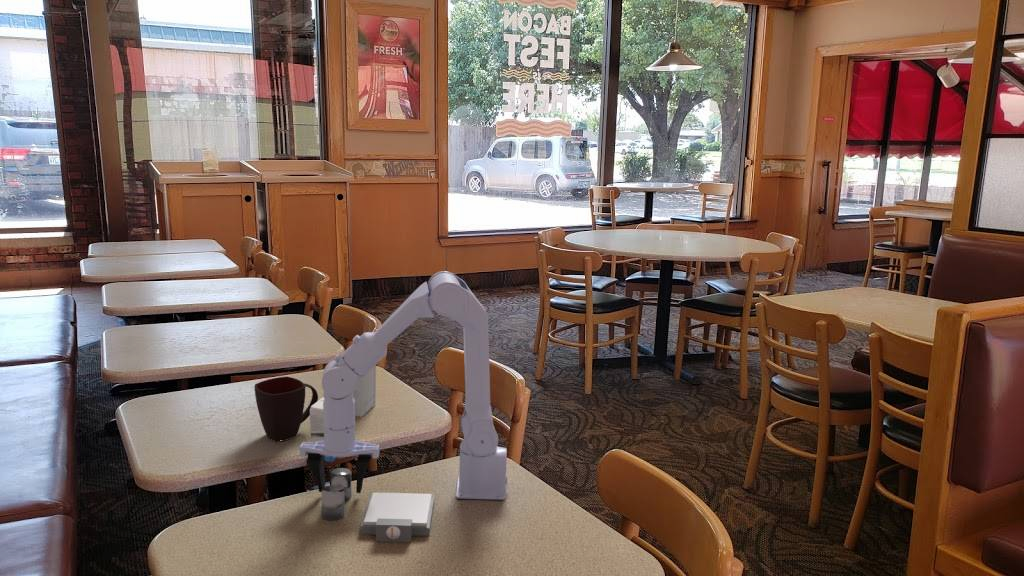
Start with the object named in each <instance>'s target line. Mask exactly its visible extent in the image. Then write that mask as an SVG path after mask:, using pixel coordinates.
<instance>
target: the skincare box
mask: <svg viewBox="0 0 1024 576" xmlns="http://www.w3.org/2000/svg"><path fill="white" fill-rule="evenodd" d="M376 367H377V364H376V365H375V366H374V367H373V368H372V369H371V370H370V371H368V372H367V373H366V374H365V375H364V376H363V377H362V378H361V379H358V380H356V381H355V388H354V391H353V398H354V400H355V417H358V416H360V417H359V418H362V417H364V416H365V414H367V413H368V412H369V411H370V410H371V409H372V408H373V407H374V406H376V391H377V389H376V388H377V387H376V384H377V383H376V381H377V380H376V379H377V376H376V375H377V374H376V373H377V372H376V371H377V370H376Z"/></svg>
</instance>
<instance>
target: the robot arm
mask: <svg viewBox="0 0 1024 576" xmlns="http://www.w3.org/2000/svg"><path fill="white" fill-rule="evenodd" d="M434 312H436V313H437V314H438V315H440V316H442V317H444V318H449V319H452V320H455V321H456V322H457V323H459V324H460V325H461V326H462V330H463V352H464V353H463V355H464V356H463V357H464V360H463V361H464V385H465V387H464V388H465V390H464V391H465V401H464V410H463V414H462V416H461V418H460V423H459V424H460V427H461V430H462V433H463V439H462V441H460V444H459V467H458V468H459V471H458V472H459V473H458V475H459V476H458V477H457V483H456V490H455V491H456V492H455V497H456V499H458V500H459V499H462V500H463V499H464V500H465V499H466V500H470V499H471V500H499V501H500V500H501V501H502V500H506V486H507V484H508V474H507V461H508V459H507V458H508V457H507V455H508V454H507V453H508V451H507V449H508V448H506V447H501V446H498V444H499V436H498V433H497V431H496V429H495V426H494V418H493V412H492V406H491V386H490V385H491V378H490V377H491V374H490V372H491V371H490V340H489V339H490V338H489V315H488V312H487V311H486V309H485V307H484V306H483V305H482V304H481V301H479V299H478V298H477V296H476V295H475V294H474V293H473V292H472V290H471V289H470V288H469V286H468V285H467V283H466V281H464V280H463V279H462V278H460V277H459V276H458V275H456V274H455V273H453V272H450V271H446V270H445V271H444V270H443V271H441V270H440V271H437V272H436V273H435V274H433V275H431V277H429V280H428V282H427V281H425V282H423V283H421V284H420V285H419V286H418V287H417V288H416V289H415V290H414V291H413V292H412V293H411V294H410V295H409V296H408V297H407V298H406V299H405V300H404V301H403V302H402V304H400V305H399V306H398V307H397V308H396V309H395V310H394V312H392V314H390V316H389V317H388V318H387V319H386V320H385V321H384V322H383V323H382V324H381V325H380V326H379V327H378V328H377V329H376V330H375V331H367V332H363V333H362V334H361V335H358V334H356V335H355V336H354V337H353V338H352V344H351V345H349V346H348V347H347V349H345V350H344V351H343V352H342V353H341V354H336V355H335V356H334V358H333V360H331V361H329V362H328V363H327V364H326V366H325V367H324V370H323V372H322V379H321V388H322V391H323V397H324V402H323V416H324V441H317V442H311V441H309V442H307V441H306V442H304V441H303V442H301V444H300V445H299V457H306V458H307V459H306V466H307V467H308V469H309V470H310V473H312V476H313V477H314V479H315V483H316V484H317V487H318V488H317V489H318V493H322V489H323V488H325V487H326V475H325V462H326V461H325V455H328V456H333V457H337V458H339V457H340V458H342V457H357V458H356V461H355V471H356V472H355V473H356V485H355V486H356V487H355V489H356V494H361V492H362V490H363V483H364V482H363V481H364V477H365V474H366V471H367V470H368V467H369V466H370V463H371V461H372V459H378V458H379V457H380V444H374V443H369V442H364V441H363V442H362V441H358V440H356V416H355V400H354V398H353V391H354V388H355V381H356V380H358V379H361V378H362V377H363V376H364V375H365V374H366V373H367V372H368V371H370V370H371V369H372V368H373V367H374V366H375V365H376V366H377V364H378V363H380V361H381V360H382V359H384V357H386V355H387V346H388V345H389V344H390V343H391V342H392V341H394V340H395V339H396V338H397V337H398V336H399V335H400V334H401V333H403V332H404V331H405V330H406V329H407V328H408V327H410V326H411V325H412V324H413V323H414V322H416V320H417V319H423V318H424V319H425V318H430V319H431V318H435V315H434Z"/></svg>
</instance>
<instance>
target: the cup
mask: <svg viewBox="0 0 1024 576" xmlns="http://www.w3.org/2000/svg"><path fill="white" fill-rule="evenodd" d="M253 388H254V396H255V401H256V407H257V410H258V414H259V415H258V416H259V418H260V421H261V425H262V428H263V430H264V432H265V435H266V437H267V438H268V439H269V438H270V440H271V439H272V440H271V441H273V440H275V441H274V442H277V441H280V440H285V441H287V440H286V439H289V438H291V439H293V438H292V437H294V436H295V437H297V436H296V435H298V433H299V430H300V426H301V424H302V423H304V422H305V421H306V420H307V419H308V418H310V408H311V406H312V405H313V404H315V403H316V402H317V401H319V394H318V392H317V389H315V387H314V386H313V385H311V384H309V383H304V382H303V381H301V380H300V379H297V378H296V377H291V376H279V377H273V378H269V379H265V380H262V381H259V382H257V383H255V384H254V387H253ZM306 388H308V389H310V390H311V392H312V395H311V400H310V402H309V405H308V406H307V407H306V409H304V408H305V403H306V402H305V401H306ZM304 410H305V411H304ZM295 437H294V438H295ZM289 440H290V439H289ZM280 442H281V441H280Z"/></svg>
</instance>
